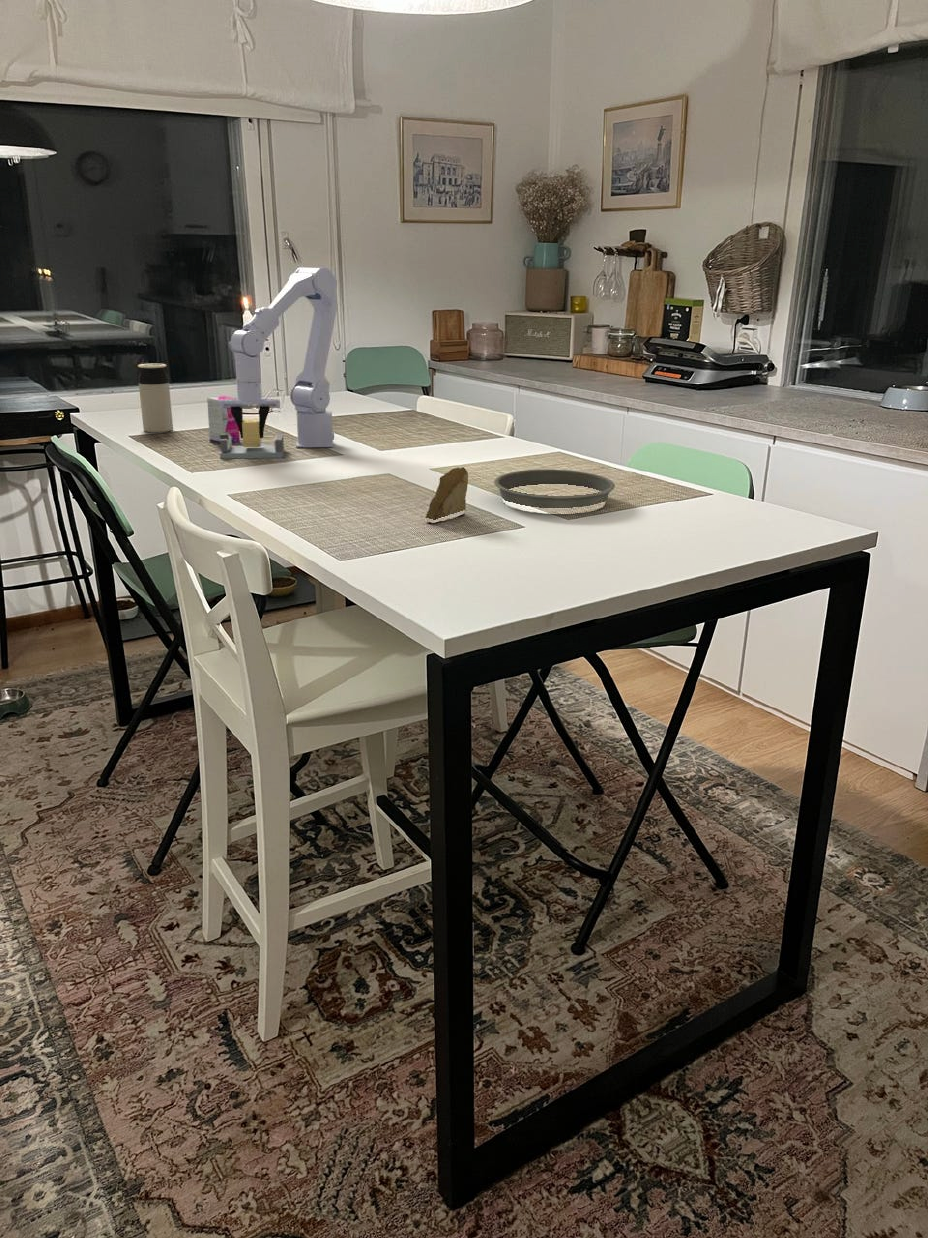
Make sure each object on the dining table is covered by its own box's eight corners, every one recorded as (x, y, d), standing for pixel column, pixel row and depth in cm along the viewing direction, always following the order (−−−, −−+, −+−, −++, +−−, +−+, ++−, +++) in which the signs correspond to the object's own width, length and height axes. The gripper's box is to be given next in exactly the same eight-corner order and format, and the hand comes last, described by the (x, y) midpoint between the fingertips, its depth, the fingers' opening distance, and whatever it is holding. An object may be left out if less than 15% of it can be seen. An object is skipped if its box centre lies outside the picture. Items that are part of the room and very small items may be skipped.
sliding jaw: (231, 444, 242) (230, 430, 241) (228, 451, 234) (227, 436, 233) (223, 444, 242) (222, 430, 241) (219, 451, 234) (218, 437, 232)
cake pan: (474, 494, 203) (475, 473, 201) (575, 485, 212) (577, 465, 211) (526, 523, 182) (527, 499, 180) (636, 511, 191) (638, 489, 190)
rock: (434, 517, 175) (482, 504, 179) (417, 475, 177) (465, 463, 180) (419, 538, 185) (464, 526, 189) (403, 499, 186) (449, 487, 190)
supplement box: (223, 444, 251) (220, 399, 247) (209, 441, 254) (205, 397, 250) (240, 441, 255) (237, 397, 251) (226, 438, 259) (223, 395, 255)
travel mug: (179, 430, 270) (173, 364, 264) (157, 433, 264) (150, 366, 257) (160, 427, 274) (153, 362, 268) (137, 430, 268) (130, 364, 261)
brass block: (261, 442, 242) (260, 418, 240) (260, 446, 236) (258, 422, 234) (245, 442, 241) (243, 418, 239) (243, 446, 236) (242, 422, 234)
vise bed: (284, 449, 245) (283, 433, 244) (282, 457, 236) (281, 440, 234) (224, 450, 243) (222, 433, 242) (220, 458, 234) (218, 441, 232)
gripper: (216, 383, 228) (220, 440, 233) (278, 383, 230) (281, 439, 235) (219, 379, 235) (223, 435, 240) (279, 379, 237) (282, 434, 242)
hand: (252, 437), depth 238 cm, fingers closed on brass block, 4 cm apart
